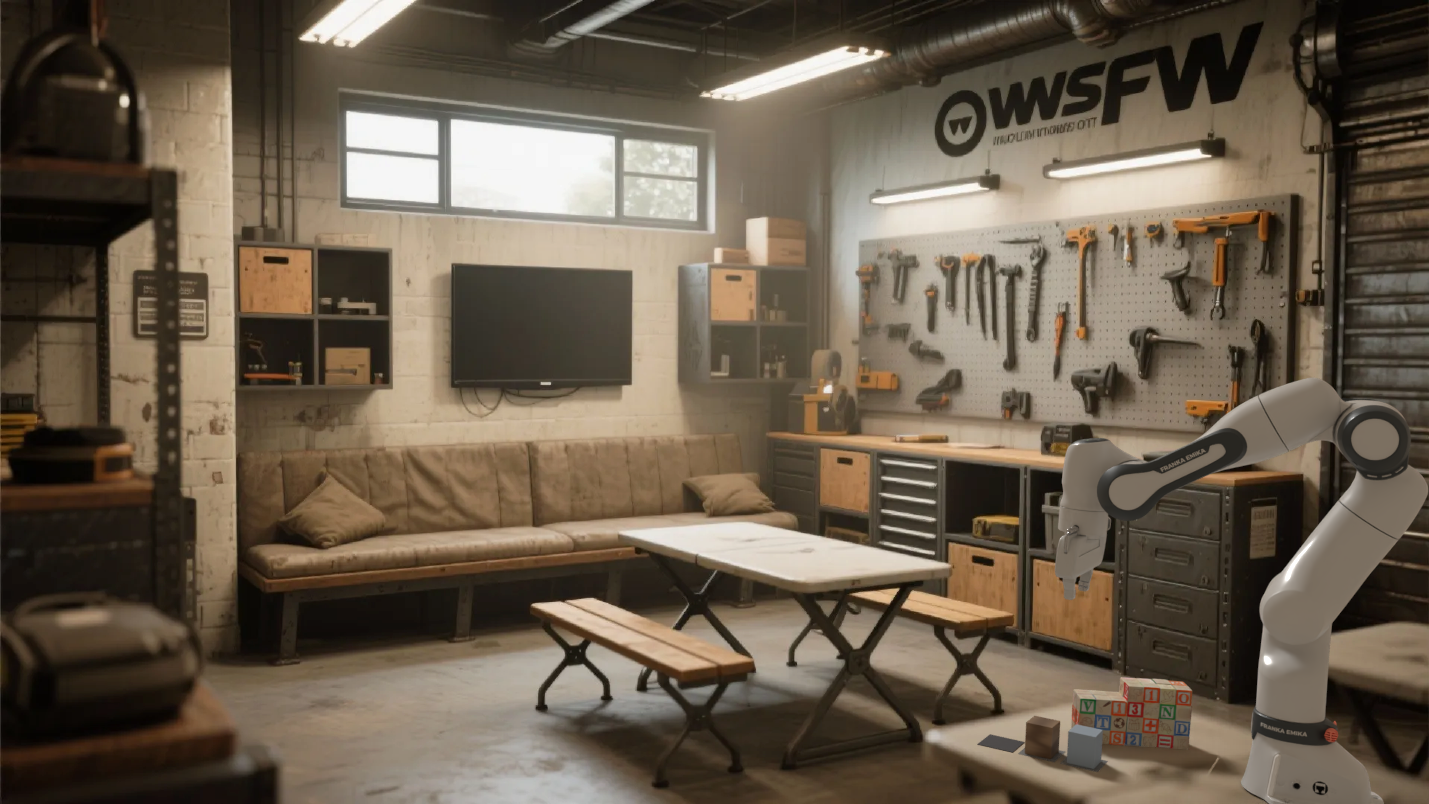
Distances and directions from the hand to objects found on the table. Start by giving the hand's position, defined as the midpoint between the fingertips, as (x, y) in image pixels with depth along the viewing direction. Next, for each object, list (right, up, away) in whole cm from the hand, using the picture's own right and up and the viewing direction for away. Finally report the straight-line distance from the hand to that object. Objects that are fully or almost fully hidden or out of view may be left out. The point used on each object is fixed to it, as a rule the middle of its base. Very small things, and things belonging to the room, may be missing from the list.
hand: (1076, 594), depth 223 cm
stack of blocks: (+13, -31, +10) cm, 35 cm away
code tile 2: (0, -31, -3) cm, 31 cm away
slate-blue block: (0, -31, -3) cm, 31 cm away
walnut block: (-6, -30, +1) cm, 31 cm away
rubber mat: (-13, -30, +5) cm, 33 cm away
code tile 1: (-6, -31, +1) cm, 31 cm away
